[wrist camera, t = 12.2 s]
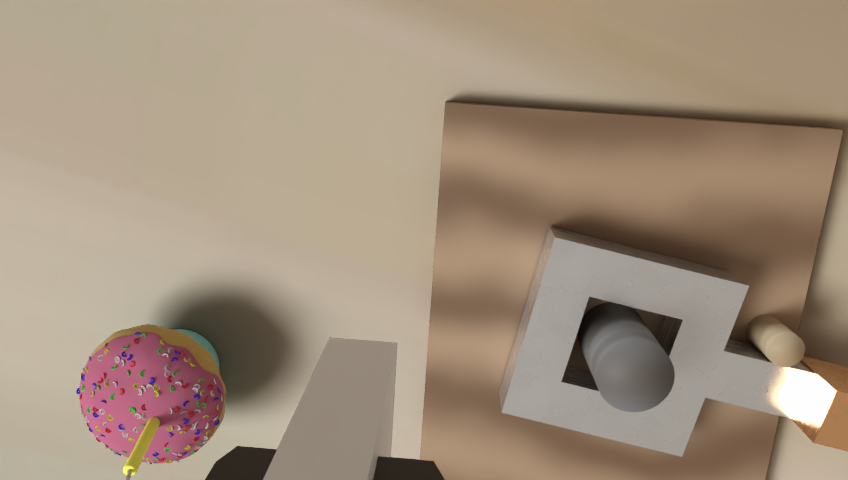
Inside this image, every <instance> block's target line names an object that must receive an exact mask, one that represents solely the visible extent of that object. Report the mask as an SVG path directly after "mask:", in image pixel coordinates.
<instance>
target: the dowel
mask: <svg viewBox="0 0 848 480" xmlns="http://www.w3.org/2000/svg"><path fill="white" fill-rule="evenodd" d="M746 335H747V337H748V339H749V340H750V341H751V342H752V343H753V344H754V345H755V346H756V347H757V348H758V349H759V350H760V351H761V352H762V353H763V354H764V355H765V356H766V357H767V358H768V359H769V360H770V361H771V362H772V363H773V364H775V365H777V366H779V367H790V366H793V365H795V364H797V363H798V362H799V361H800V360H801V359H802V358H803V356H804V354H805V344H804V342H803V340H802V339H801V338H800V337H798V336H797V335H796V334H795V333H794V332H792V331H791V330H790V329H789V328H787V327H786V326H785V325H784V324H783V323H781V322H780V321H779V320H778V319H776V318H775V317H774V316H772V315H768V314H762V315H758V316H756V317H754V318H753V319H752V320H751V321H750V322H749V323H748V325H747V328H746Z"/></svg>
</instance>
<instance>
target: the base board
mask: <svg viewBox="0 0 848 480" xmlns="http://www.w3.org/2000/svg"><path fill="white" fill-rule="evenodd" d="M842 134H843V130H840V129H835V128H825V127H810V126H796V125H781V124H766V123H752V122H737V121H723V120H708V119H693V118H679V117H664V116H650V115H635V114H620V113H606V112H591V111H577V110H562V109H547V108H533V107H518V106H504V105H489V104H474V103H460V102H445V115H444V129H443V143H442V157H441V171H440V185H439V199H438V213H437V227H436V241H435V255H434V270H433V284H432V298H431V312H430V326H429V340H428V354H427V368H426V382H425V396H424V410H423V424H422V439H421V453H420V460H428V461H434V462H435V464H436V466H437V467H438V469H439V471H440V472H441V474H442V476H443V478H444V479H445V480H765V478H766V474H767V470H768V465H769V461H770V456H771V452H772V447H773V443H774V438H775V434H776V429H777V425H778V420H779V416H778V415H774V414H770V413H766V412H762V411H758V410H753V409H749V408H745V407H741V406H737V405H733V404H729V403H725V402H721V401H717V400H713V399H709V398H705V400H704V402H703V405H702V407H701V410H700V412H699V415H698V417H697V420H696V423H695V425H694V428H693V430H692V433H691V435H690V438H689V440H688V443H687V445H686V448H685V451H684V453H683V456H682V457H680V456H676V455H672V454H668V453H664V452H660V451H656V450H652V449H648V448H644V447H640V446H636V445H631V444H627V443H623V442H619V441H615V440H611V439H607V438H603V437H599V436H595V435H591V434H587V433H583V432H579V431H574V430H570V429H566V428H562V427H558V426H554V425H550V424H546V423H542V422H538V421H534V420H530V419H526V418H522V417H517V416H513V415H509V414H505V413H501V404H500V396H499V391H500V388H501V384H502V381H503V378H504V375H505V371H506V368H507V365H508V361H509V358H510V355H511V351H512V348H513V345H514V341H515V338H516V335H517V331H518V328H519V325H520V322H521V318H522V315H523V312H524V308H525V305H526V302H527V298H528V295H529V292H530V288H531V285H532V282H533V279H534V275H535V272H536V269H537V265H538V262H539V259H540V255H541V252H542V249H543V245H544V242H545V239H546V236H547V232H548V229H549V227H553V228H557V229H561V230H565V231H569V232H573V233H577V234H581V235H585V236H589V237H593V238H597V239H601V240H605V241H609V242H613V243H617V244H621V245H625V246H629V247H633V248H637V249H641V250H645V251H649V252H653V253H657V254H661V255H665V256H669V257H673V258H677V259H681V260H685V261H689V262H693V263H697V264H701V265H705V266H709V267H713V268H718V269H722V270H726V271H730V272H732V273H734V274H735V275H736V276H737V277H739V278H740V279H741V280H743V281H744V282H745V283H746V284H748V285H749V288H748V290H747V293H746V296H745V298H744V301H743V303H742V306H741V308H740V311H739V313H738V316H737V318H736V321H735V324H734V326H733V329H732V331H731V334H730V336H729V339H731V340H735V341H739V342H743V343H747V344H751V345H754V344H753V343H752V342H751V341H750V340H749V339H748V337H747V335H746V328H747V325H748V323H749V322H750V321H751V320H752V319H753V318H754V317H756V316H758V315H762V314H768V315H772V316H774V317H775V318H776V319H778V320H779V321H780V322H781V323H783V324H784V325H785V326H786V327H787V328H789V329H790V330H791V331H792V332H794V333H795V334H796V335H798V331H799V326H800V322H801V317H802V313H803V308H804V304H805V299H806V295H807V290H808V286H809V281H810V277H811V272H812V268H813V263H814V259H815V254H816V250H817V246H818V241H819V237H820V232H821V228H822V223H823V219H824V214H825V210H826V205H827V201H828V196H829V192H830V187H831V183H832V178H833V174H834V169H835V165H836V160H837V156H838V151H839V147H840V143H841V138H842ZM664 318H665V315H661V314H657V313H653V312H649V311H645V310H641V309H637V308H633V307H629V306H625V305H621V304H617V303H613V302H609V301H605V300H601V299H597V298H593V297H589V299H588V302H587V305H586V308H585V311H584V314H583V317H582V320H581V323H580V326H579V329H578V333H577V336H576V339H575V342H574V345H573V348H572V351H571V354H570V357H569V360H568V363H567V366H568V367H572V368H576V369H581V370H585V371H589V372H591V373H592V375H593V378H594V380H595V383H596V385H597V387H598V390H599V392H600V394H601V396H602V397H603V398H604V400H605V401H606V402H607V403H608V404H610V405H611V406H613V407H614V408H616V409H619V410H622V411H625V412H642V411H646V410H649V409H651V408H654V407H655V406H657V405H659V404H660V403H661V402H662V401H663V400H664V399H665V398H666V397H667V396H668V395H669V393H670V391H671V389H672V387H673V384H674V379H675V371H674V367H673V364H672V362H671V360H670V358H669V357H668V355H667V354H666V352H665V351H664V350H663V348H662V347H661V345H660V344H659V342H658V341H657V337H658V334H659V332H660V329H661V326H662V323H663V321H664Z"/></svg>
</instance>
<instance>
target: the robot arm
mask: <svg viewBox="0 0 848 480" xmlns="http://www.w3.org/2000/svg"><path fill="white" fill-rule="evenodd" d="M396 359H397V343H392V342H380V341H367V340H355V339H342V338H329V340H328V342H327V344H326V347H325V349H324V351H323V353H322V355H321V357H320V359H319V361H318V364H317V366H316V368H315V370H314V372H313V374H312V376H311V378H310V381H309V383H308V385H307V387H306V389H305V391H304V393H303V396H302V398H301V400H300V402H299V404H298V406H297V408H296V410H295V413H294V415H293V417H292V419H291V421H290V423H289V425H288V427H287V430H286V432H285V434H284V436H283V438H282V440H281V442H280V445H279V447H278V449H277V450H276V449H265V448H253V447H241V446H237V447H236V448H234V449H233V450H232V451H230V452H229V453H227V454H226V455H225V456H223V457H222V458H220V459H219V460H218V461H216V463H215V464H214V466H213V468H212V469H211V471H210V472H209V474H208V476H207V477H206V479H205V480H445V479H444V478H443V476H442V474H441V472H440V471H439V469H438V467H437V466H436V464H435V462H434V461H428V460H416V459H405V458H393V457H390V456H391V445H392V428H393V411H394V394H395V376H396Z"/></svg>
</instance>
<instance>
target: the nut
mask: <svg viewBox="0 0 848 480" xmlns="http://www.w3.org/2000/svg"><path fill="white" fill-rule="evenodd" d="M748 288H749V285H748V284H746V283H745V282H744V281H743V280H741V279H740V278H739V277H737V276H736V275H735V274H734V273H732V272H730V271H726V270H722V269H718V268H713V267H709V266H705V265H701V264H697V263H693V262H689V261H685V260H681V259H677V258H673V257H669V256H665V255H661V254H657V253H653V252H649V251H645V250H641V249H637V248H633V247H629V246H625V245H621V244H617V243H613V242H609V241H605V240H601V239H597V238H593V237H589V236H585V235H581V234H577V233H573V232H569V231H565V230H561V229H557V228H553V227H549V229H548V232H547V236H546V239H545V242H544V245H543V249H542V252H541V255H540V259H539V262H538V265H537V269H536V272H535V275H534V279H533V282H532V285H531V288H530V292H529V295H528V298H527V302H526V305H525V308H524V312H523V315H522V318H521V322H520V325H519V328H518V331H517V335H516V338H515V341H514V345H513V348H512V351H511V355H510V358H509V361H508V365H507V368H506V371H505V375H504V378H503V381H502V384H501V388H500V391H499V396H500V404H501V413H505V414H509V415H513V416H517V417H522V418H526V419H530V420H534V421H538V422H542V423H546V424H550V425H554V426H558V427H562V428H566V429H570V430H574V431H579V432H583V433H587V434H591V435H595V436H599V437H603V438H607V439H611V440H615V441H619V442H623V443H627V444H631V445H636V446H640V447H644V448H648V449H652V450H656V451H660V452H664V453H668V454H672V455H676V456H680V457H682V456H683V453H684V451H685V448H686V445H687V443H688V440H689V438H690V435H691V433H692V430H693V428H694V425H695V423H696V420H697V417H698V415H699V412H700V410H701V407H702V405H703V402H704V400H705V398H709V399H713V400H717V401H721V402H725V403H729V404H733V405H737V406H741V407H745V408H749V409H753V410H758V411H762V412H766V413H770V414H774V415H778V416H782V417H786V418H790V419H792V420H793V421H794V422H795V423H796V424H797V425H798V426H799V428H800V429H801V430H802V431H803V432H804V433H805V434H806V435H807V436H808V437H809V438H810V439H811V441H812V442H813V443H816V444H820V445H825V446H829V447H833V448H837V449H841V450H845V451H848V368H847V367H846V366H843V365H839V364H835V363H831V362H827V361H823V360H819V359H814V358H810V357H806V356H803V358H802V359H801V360H800V361H799V362H798V363H797V364H795V365H793V366H790V367H779V366H777V365H775V364H773V363H772V362H771V361H770V360H769V359H768V358H767V357H766V356H765V355H764V354H763V353H762V352H761V351H760V350H759V349H758V348H757V347H756V346H755V345H751V344H747V343H743V342H739V341H735V340H731V339H729V336H730V334H731V331H732V329H733V326H734V324H735V321H736V318H737V316H738V313H739V311H740V308H741V306H742V303H743V301H744V298H745V296H746V293H747V290H748ZM589 297H593V298H597V299H601V300H605V301H609V302H613V303H617V304H621V305H625V306H629V307H633V308H637V309H641V310H645V311H649V312H653V313H657V314H661V315H665V318H664V321H663V323H662V326H661V329H660V332H659V334H658V337H657V341H658V342H659V344H660V345H661V347H662V348H663V350H664V351H665V352H666V354H667V355H668V357H669V358H670V360H671V362H672V364H673V367H674V371H675V379H674V384H673V387H672V389H671V391H670V393H669V395H668V396H667V397H666V398H665V399H664V400H663V401H662V402H661V403H660V404H659V405H657V406H655V407H654V408H651V409H649V410H646V411H642V412H625V411H622V410H619V409H616V408H614V407H613V406H611V405H610V404H608V403H607V402H606V401H605V400H604V398H603V397H602V396H601V394H600V392H599V390H598V387H597V385H596V383H595V380H594V378H593V375H592V373H591V372H589V371H585V370H581V369H576V368H572V367H568V366H567V363H568V360H569V357H570V354H571V351H572V348H573V345H574V342H575V339H576V336H577V333H578V329H579V326H580V323H581V320H582V317H583V314H584V311H585V308H586V305H587V302H588V299H589Z"/></svg>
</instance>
